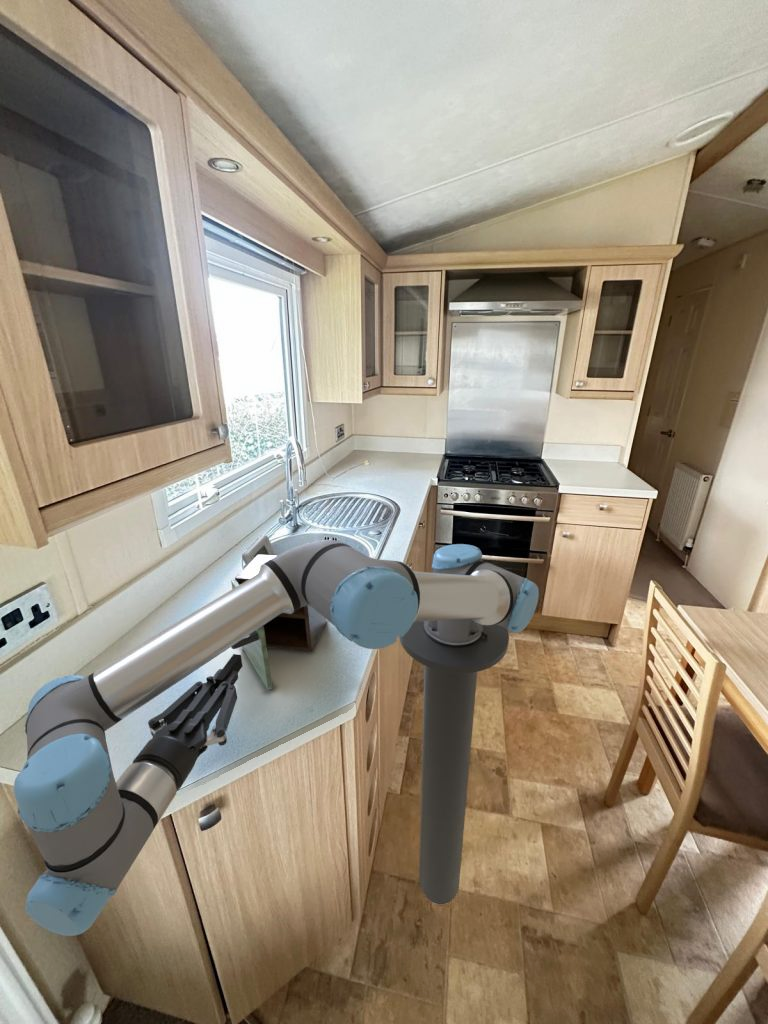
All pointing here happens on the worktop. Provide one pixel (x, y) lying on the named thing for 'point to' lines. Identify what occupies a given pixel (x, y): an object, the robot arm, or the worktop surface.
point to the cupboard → (287, 618)
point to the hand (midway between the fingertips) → (238, 660)
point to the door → (256, 651)
